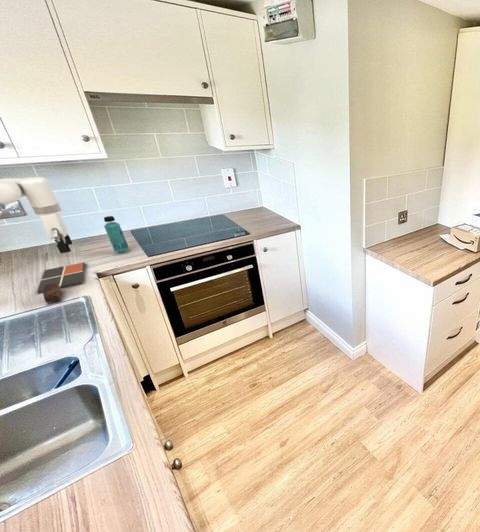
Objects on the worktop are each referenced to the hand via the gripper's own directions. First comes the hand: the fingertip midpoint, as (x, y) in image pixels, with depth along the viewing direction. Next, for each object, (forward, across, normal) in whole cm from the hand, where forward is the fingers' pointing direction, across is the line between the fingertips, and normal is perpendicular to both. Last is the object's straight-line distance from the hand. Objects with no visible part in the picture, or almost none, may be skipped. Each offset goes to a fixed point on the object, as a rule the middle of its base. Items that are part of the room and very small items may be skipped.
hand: (66, 248), depth 136 cm
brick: (+18, +8, -9) cm, 21 cm away
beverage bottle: (+18, -32, +15) cm, 39 cm away
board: (+18, -13, -8) cm, 23 cm away
